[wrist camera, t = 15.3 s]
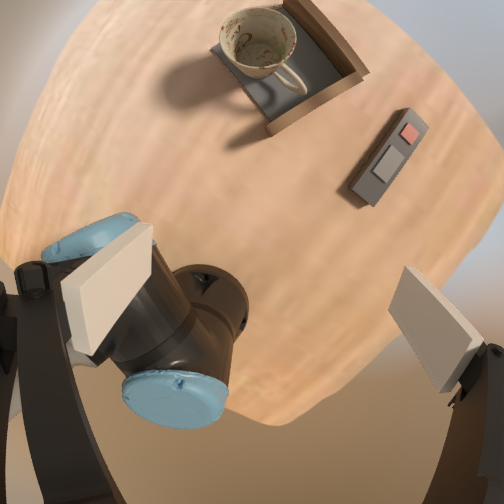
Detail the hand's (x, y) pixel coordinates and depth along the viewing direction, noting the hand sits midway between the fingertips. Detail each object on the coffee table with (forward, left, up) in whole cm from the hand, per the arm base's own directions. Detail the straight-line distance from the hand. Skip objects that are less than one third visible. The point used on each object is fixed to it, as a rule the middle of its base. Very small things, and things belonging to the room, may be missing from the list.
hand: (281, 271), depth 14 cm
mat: (+12, +15, -29) cm, 34 cm away
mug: (+10, +14, -28) cm, 33 cm away
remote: (+18, -6, -29) cm, 34 cm away
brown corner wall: (+12, +14, -29) cm, 34 cm away
